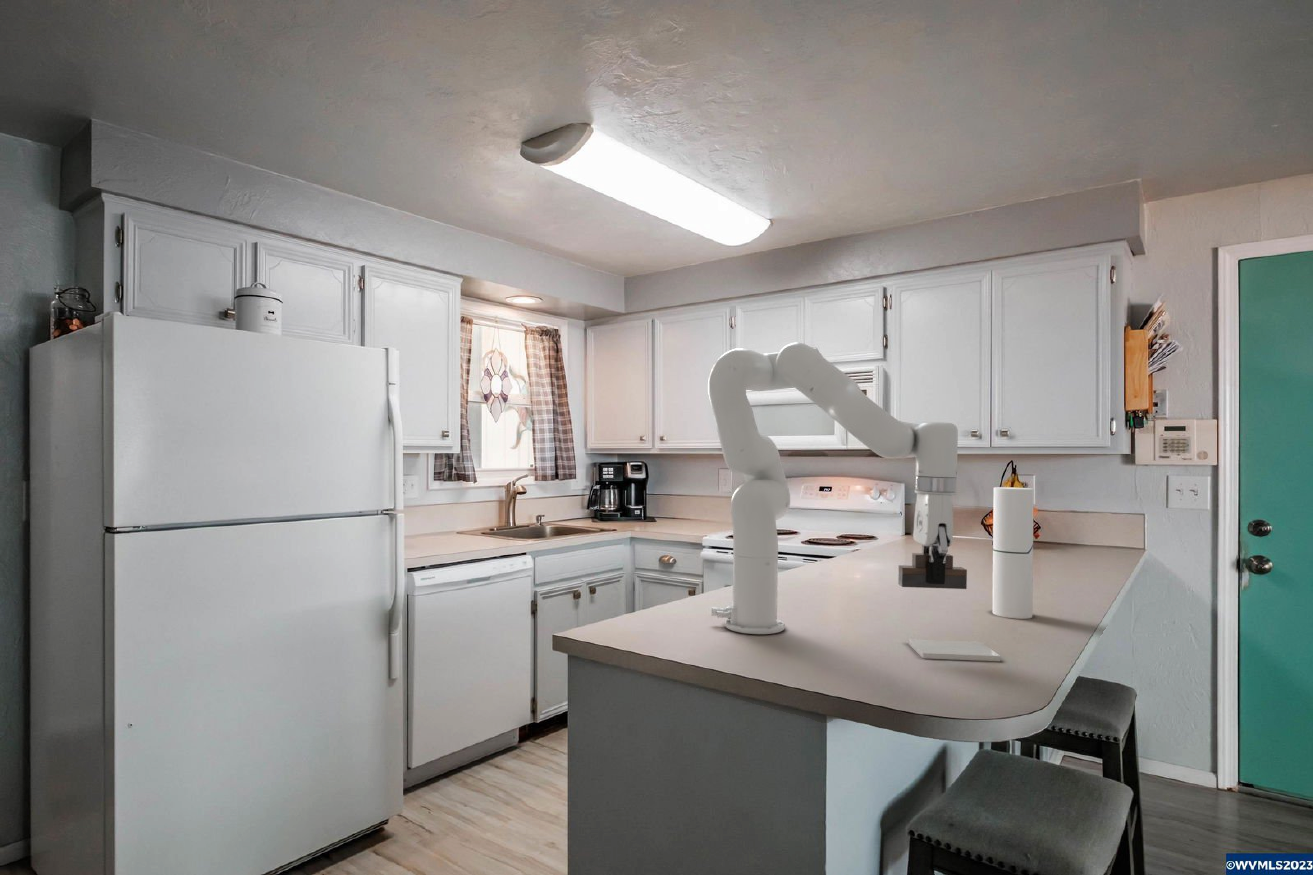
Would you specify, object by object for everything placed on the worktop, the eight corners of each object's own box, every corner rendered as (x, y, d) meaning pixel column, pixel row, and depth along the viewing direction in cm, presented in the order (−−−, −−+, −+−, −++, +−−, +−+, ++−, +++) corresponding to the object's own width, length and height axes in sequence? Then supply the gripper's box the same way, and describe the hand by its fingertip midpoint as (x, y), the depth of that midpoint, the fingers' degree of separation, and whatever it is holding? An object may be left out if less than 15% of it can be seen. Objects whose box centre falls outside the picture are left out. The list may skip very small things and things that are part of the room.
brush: (902, 587, 141) (902, 554, 141) (898, 584, 144) (898, 552, 144) (966, 589, 141) (967, 556, 141) (961, 586, 144) (961, 554, 144)
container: (1023, 611, 180) (1024, 487, 180) (1038, 619, 171) (1039, 489, 172) (987, 609, 181) (988, 486, 181) (1000, 618, 172) (1001, 488, 172)
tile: (922, 658, 137) (922, 653, 137) (908, 644, 147) (908, 639, 147) (1000, 661, 136) (1000, 656, 136) (981, 646, 146) (981, 641, 146)
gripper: (904, 483, 151) (901, 573, 151) (927, 488, 135) (925, 589, 135) (942, 484, 150) (939, 575, 150) (970, 489, 134) (967, 591, 134)
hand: (932, 580), depth 142 cm, fingers closed on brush, 3 cm apart
